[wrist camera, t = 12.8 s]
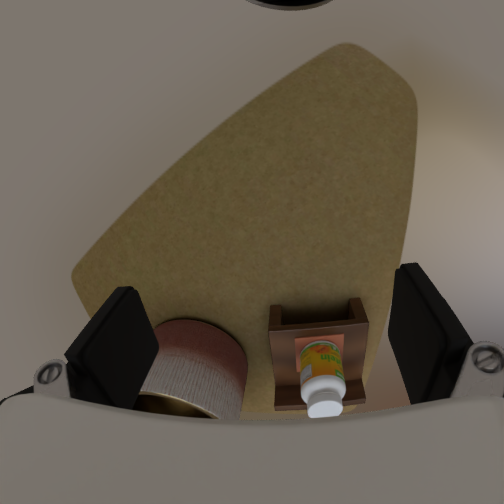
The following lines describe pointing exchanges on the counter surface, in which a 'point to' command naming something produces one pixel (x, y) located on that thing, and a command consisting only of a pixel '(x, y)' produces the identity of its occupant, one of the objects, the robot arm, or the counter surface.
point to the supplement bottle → (322, 379)
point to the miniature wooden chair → (300, 335)
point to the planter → (194, 373)
